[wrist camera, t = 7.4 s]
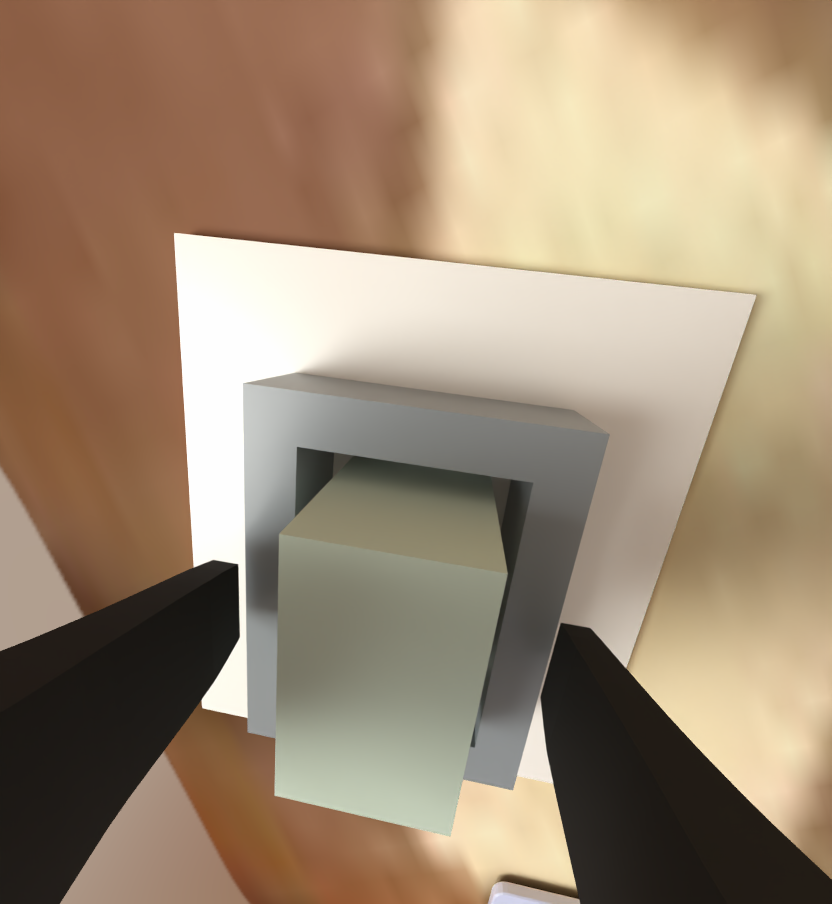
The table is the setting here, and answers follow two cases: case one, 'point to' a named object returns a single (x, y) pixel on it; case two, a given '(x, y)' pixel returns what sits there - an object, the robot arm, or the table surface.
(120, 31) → the table surface
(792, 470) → the table surface
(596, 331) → the slot holder
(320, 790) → the key block
